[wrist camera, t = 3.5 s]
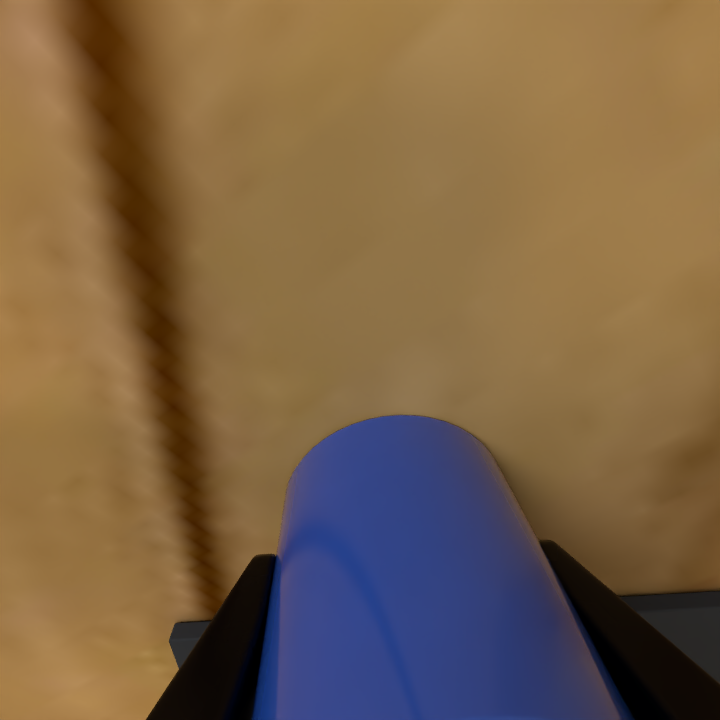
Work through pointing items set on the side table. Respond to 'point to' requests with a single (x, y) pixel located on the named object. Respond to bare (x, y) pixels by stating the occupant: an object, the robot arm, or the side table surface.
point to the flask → (419, 591)
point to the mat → (664, 612)
